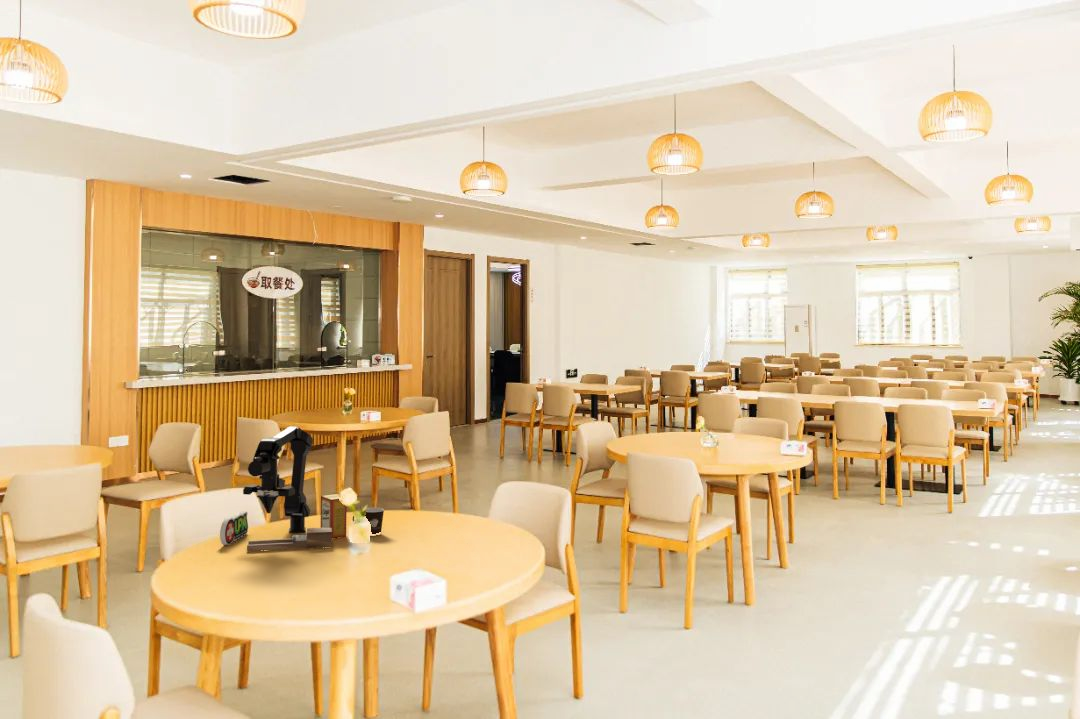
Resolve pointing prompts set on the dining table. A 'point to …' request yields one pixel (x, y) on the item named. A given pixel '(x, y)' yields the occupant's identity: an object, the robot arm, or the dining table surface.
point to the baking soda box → (333, 515)
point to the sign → (233, 528)
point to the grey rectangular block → (299, 538)
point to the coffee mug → (374, 519)
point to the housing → (314, 540)
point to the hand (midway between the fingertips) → (268, 513)
